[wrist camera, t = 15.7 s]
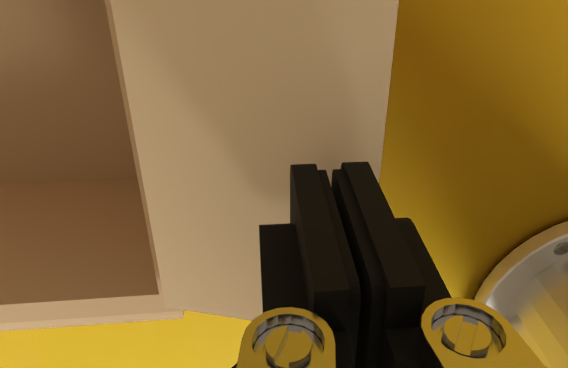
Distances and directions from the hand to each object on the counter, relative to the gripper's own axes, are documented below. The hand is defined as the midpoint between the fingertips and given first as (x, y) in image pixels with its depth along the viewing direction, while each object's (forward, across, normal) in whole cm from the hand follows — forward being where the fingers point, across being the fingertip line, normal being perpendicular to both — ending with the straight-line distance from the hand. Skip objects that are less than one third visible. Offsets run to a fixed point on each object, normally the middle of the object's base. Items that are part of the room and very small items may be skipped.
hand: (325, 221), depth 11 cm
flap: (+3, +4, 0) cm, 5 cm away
